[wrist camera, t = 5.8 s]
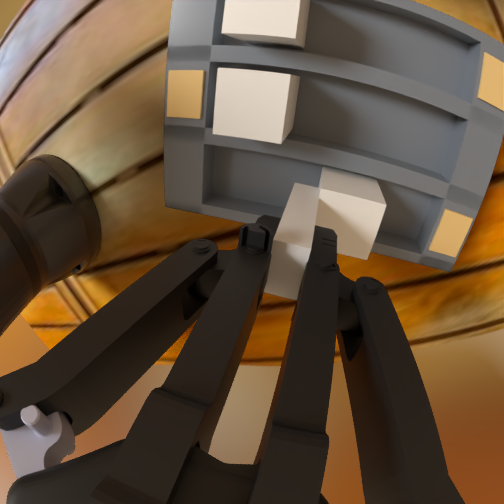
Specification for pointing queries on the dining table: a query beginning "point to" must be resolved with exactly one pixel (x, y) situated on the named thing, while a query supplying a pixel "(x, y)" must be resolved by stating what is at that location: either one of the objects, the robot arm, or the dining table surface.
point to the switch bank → (345, 119)
